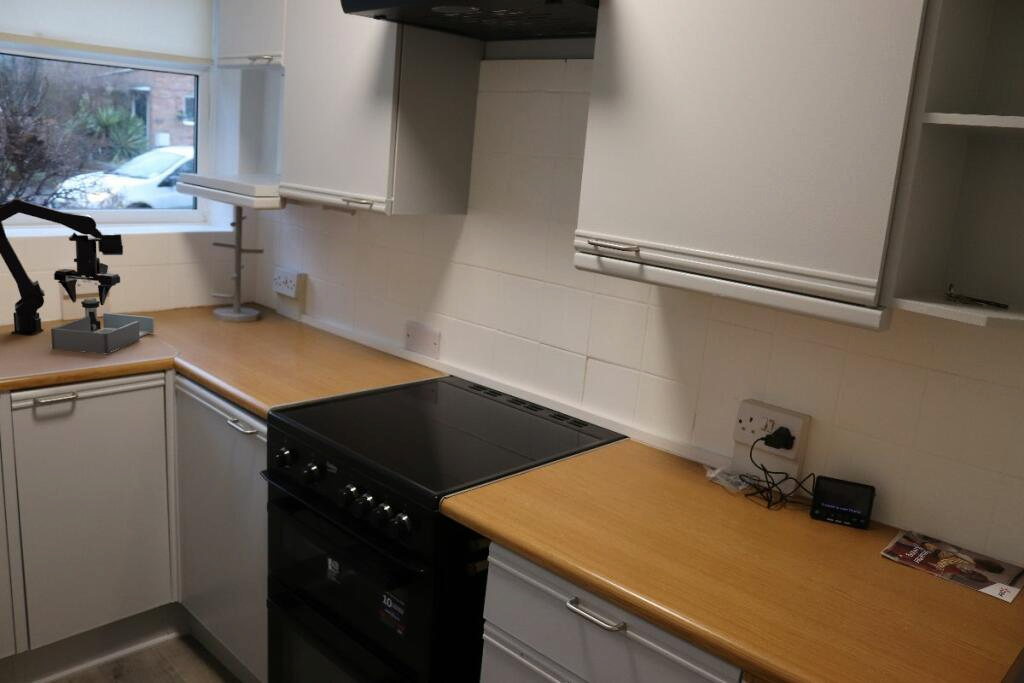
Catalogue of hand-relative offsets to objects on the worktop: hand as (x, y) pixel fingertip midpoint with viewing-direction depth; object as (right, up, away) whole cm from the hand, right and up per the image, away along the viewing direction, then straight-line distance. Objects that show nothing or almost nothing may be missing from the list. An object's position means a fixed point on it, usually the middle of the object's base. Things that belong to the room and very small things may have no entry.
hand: (88, 303), depth 258 cm
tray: (+10, -11, -4) cm, 15 cm away
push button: (-1, -8, +2) cm, 9 cm away
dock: (+10, -13, -13) cm, 21 cm away
